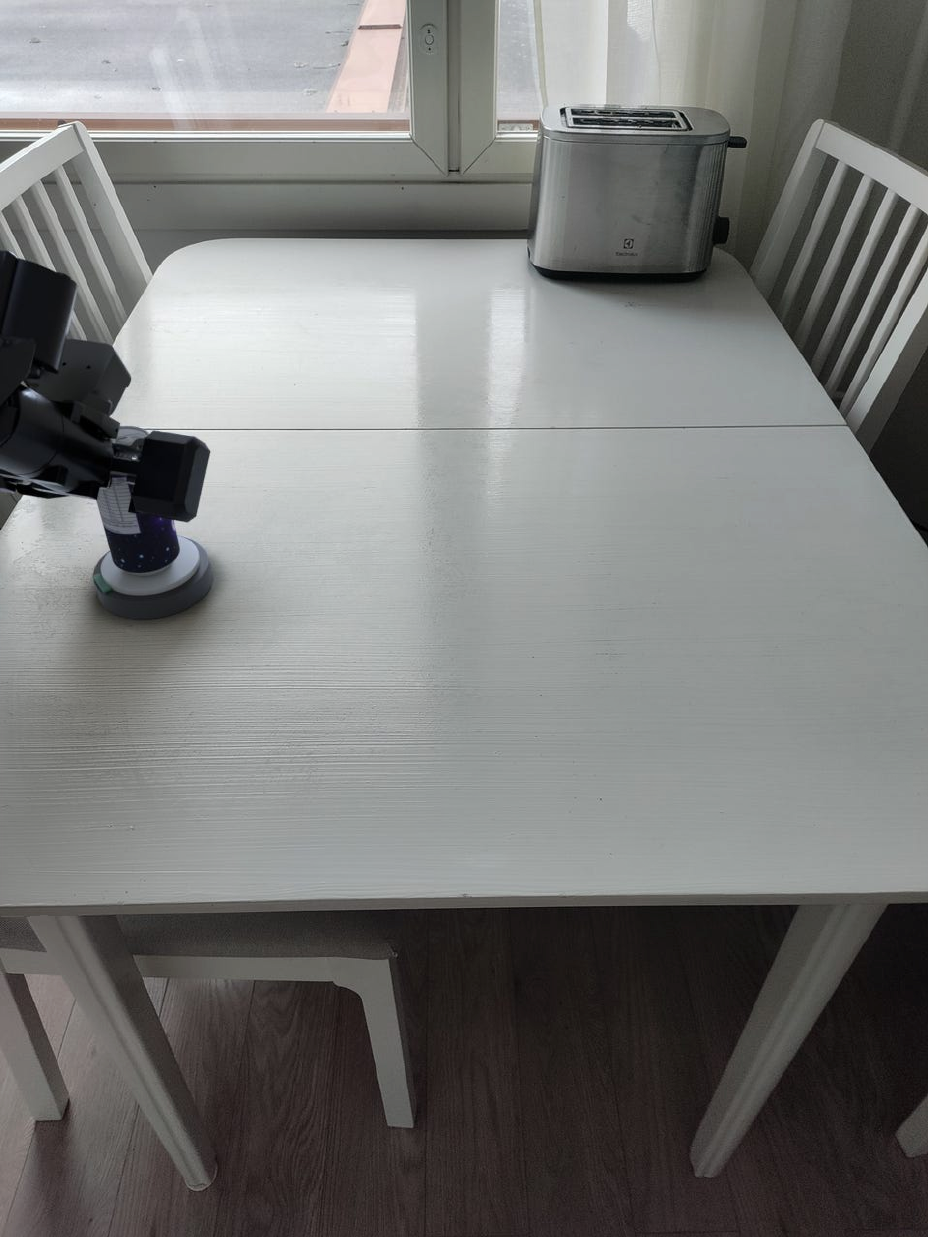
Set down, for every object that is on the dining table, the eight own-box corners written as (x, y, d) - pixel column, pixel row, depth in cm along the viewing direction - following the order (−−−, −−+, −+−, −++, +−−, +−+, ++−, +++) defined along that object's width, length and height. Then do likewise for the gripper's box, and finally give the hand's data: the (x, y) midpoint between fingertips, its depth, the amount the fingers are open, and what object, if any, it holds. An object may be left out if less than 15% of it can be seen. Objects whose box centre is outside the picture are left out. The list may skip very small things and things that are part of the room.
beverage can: (182, 576, 82) (155, 452, 75) (114, 585, 81) (79, 461, 74) (180, 539, 87) (154, 419, 79) (115, 548, 86) (82, 427, 78)
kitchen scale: (122, 635, 80) (115, 611, 79) (81, 576, 87) (74, 553, 85) (231, 591, 85) (227, 568, 83) (185, 538, 91) (180, 516, 90)
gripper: (174, 336, 64) (263, 412, 80) (-64, 307, 68) (64, 384, 83) (138, 497, 63) (235, 542, 79) (-101, 458, 67) (35, 508, 82)
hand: (141, 489), depth 81 cm, fingers closed on beverage can, 5 cm apart
